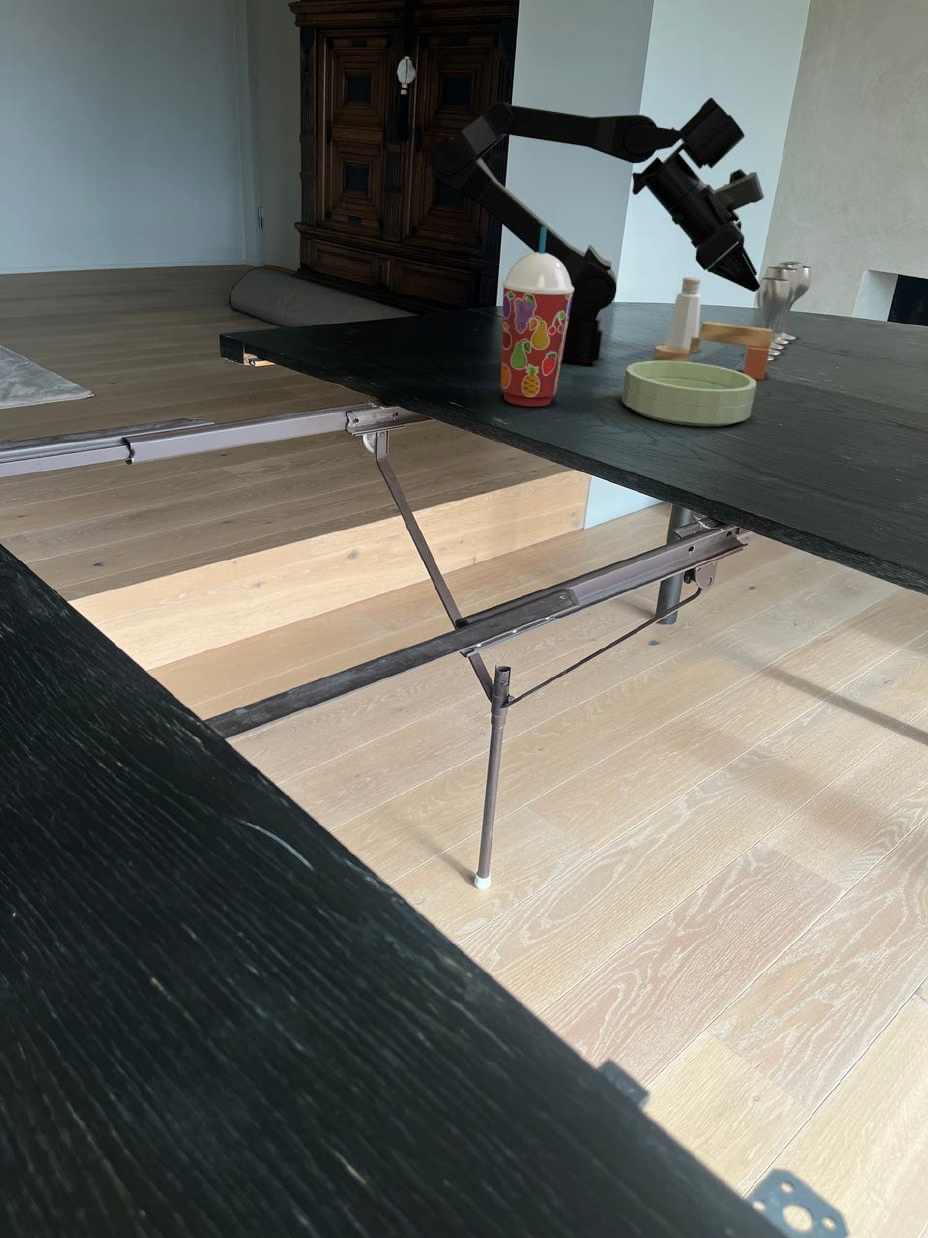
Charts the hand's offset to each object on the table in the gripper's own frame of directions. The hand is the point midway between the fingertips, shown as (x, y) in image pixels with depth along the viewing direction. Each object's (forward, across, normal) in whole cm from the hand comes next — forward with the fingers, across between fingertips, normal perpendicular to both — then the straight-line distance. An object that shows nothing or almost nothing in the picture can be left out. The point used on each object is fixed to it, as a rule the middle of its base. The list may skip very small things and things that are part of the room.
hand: (755, 282), depth 134 cm
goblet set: (+15, +26, +7) cm, 31 cm away
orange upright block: (+10, +1, +8) cm, 13 cm away
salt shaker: (+3, +15, +16) cm, 22 cm away
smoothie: (-13, -30, +26) cm, 42 cm away
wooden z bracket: (+5, +1, +13) cm, 14 cm away
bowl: (+2, -26, +13) cm, 29 cm away
